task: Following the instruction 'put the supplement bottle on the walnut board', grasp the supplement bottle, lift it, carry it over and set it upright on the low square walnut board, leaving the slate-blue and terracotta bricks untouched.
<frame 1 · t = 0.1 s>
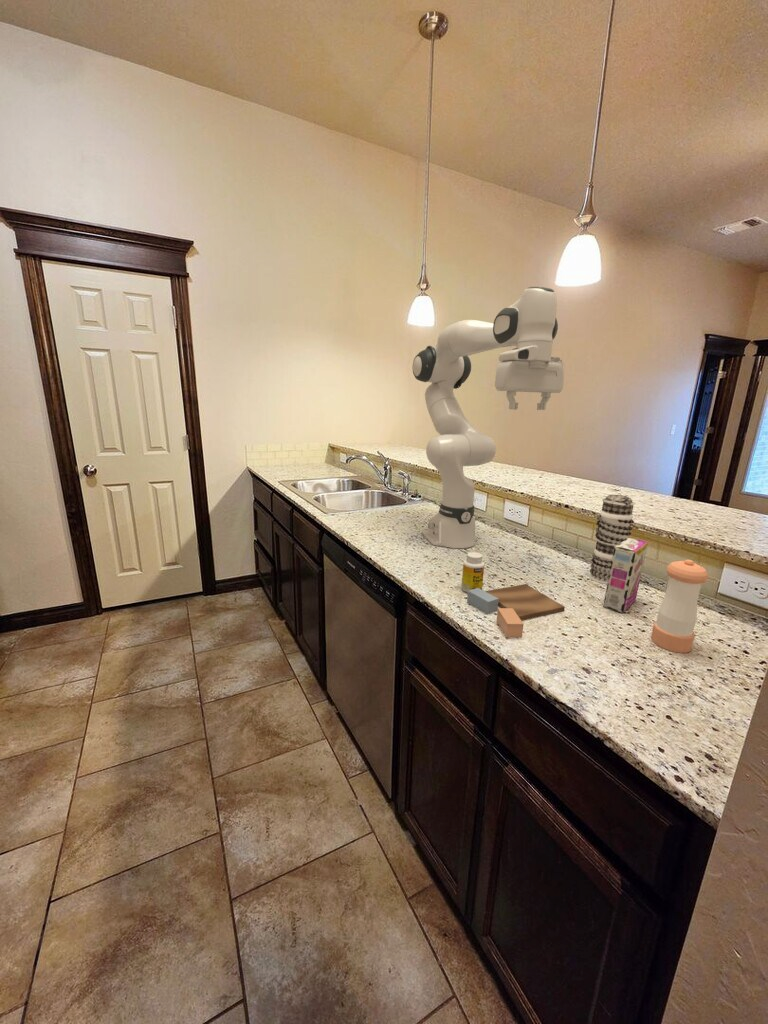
hand: (527, 409, 111), 48 cm above the counter, fingers open, 8 cm apart
brick blue: (481, 607, 103), on the counter
supplement bottle: (471, 590, 112), on the counter
candy bar box: (620, 604, 106), on the counter
pepper shaker: (670, 643, 89), on the counter
decorative candle: (605, 579, 122), on the counter
target board: (522, 603, 105), on the counter
brick terracotta: (508, 629, 93), on the counter
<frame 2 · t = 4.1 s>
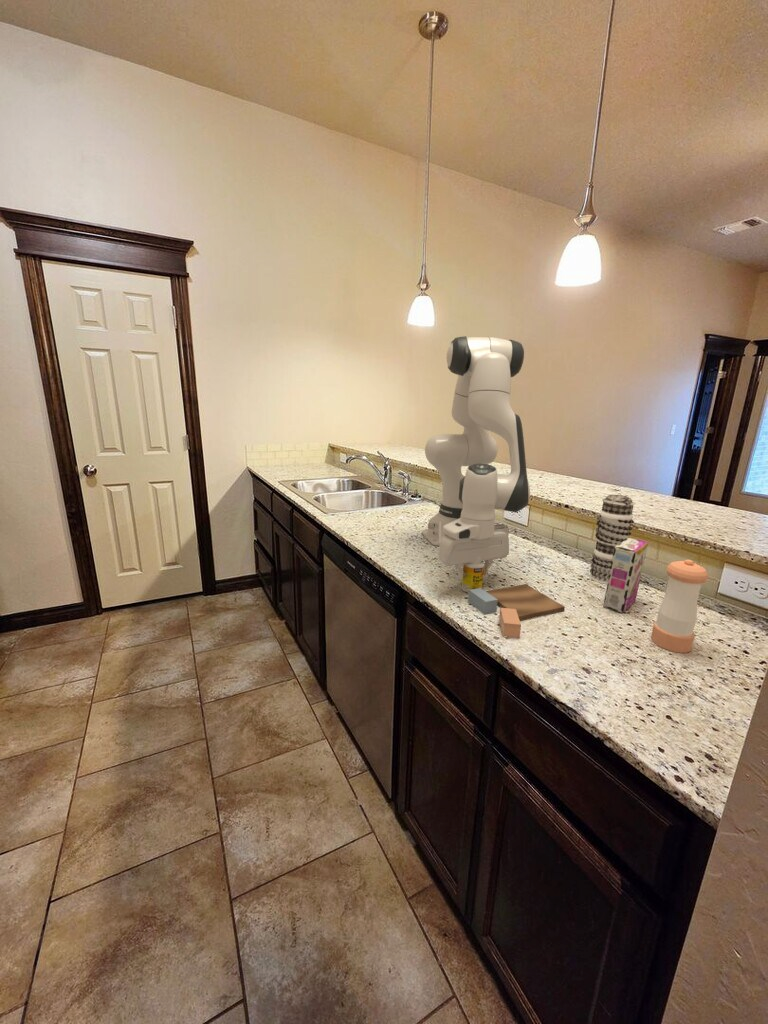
hand: (472, 575, 111), 4 cm above the counter, fingers closed on supplement bottle, 5 cm apart
supplement bottle: (471, 590, 112), on the counter, touching gripper
everything else where it was.
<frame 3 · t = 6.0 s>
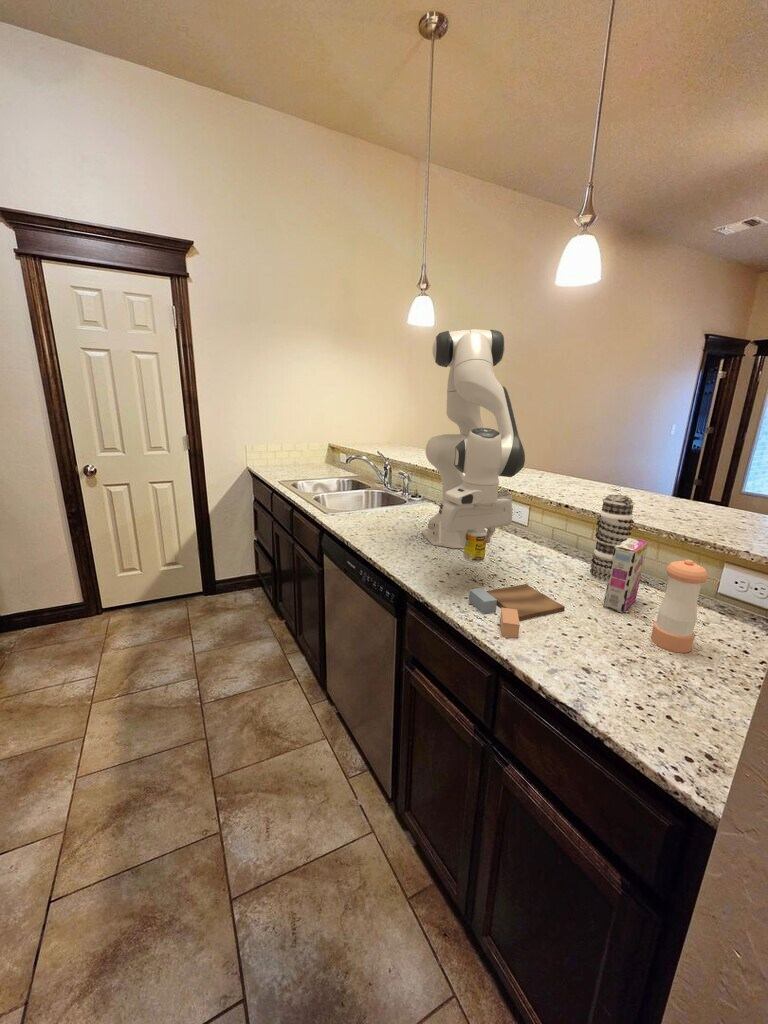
hand: (475, 543, 109), 13 cm above the counter, fingers closed on supplement bottle, 5 cm apart
supplement bottle: (473, 560, 111), point 8 cm above the counter, touching gripper
everything else where it was.
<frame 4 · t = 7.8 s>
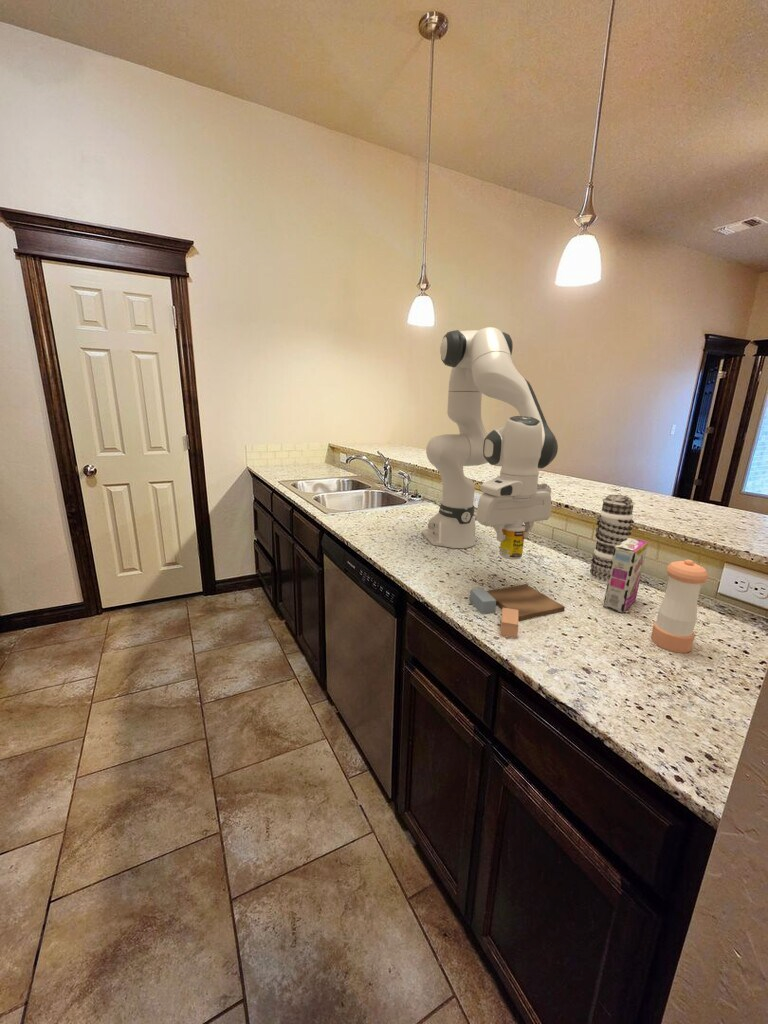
hand: (512, 539, 103), 16 cm above the counter, fingers closed on supplement bottle, 5 cm apart
supplement bottle: (510, 557, 104), point 12 cm above the counter, touching gripper
everything else where it was.
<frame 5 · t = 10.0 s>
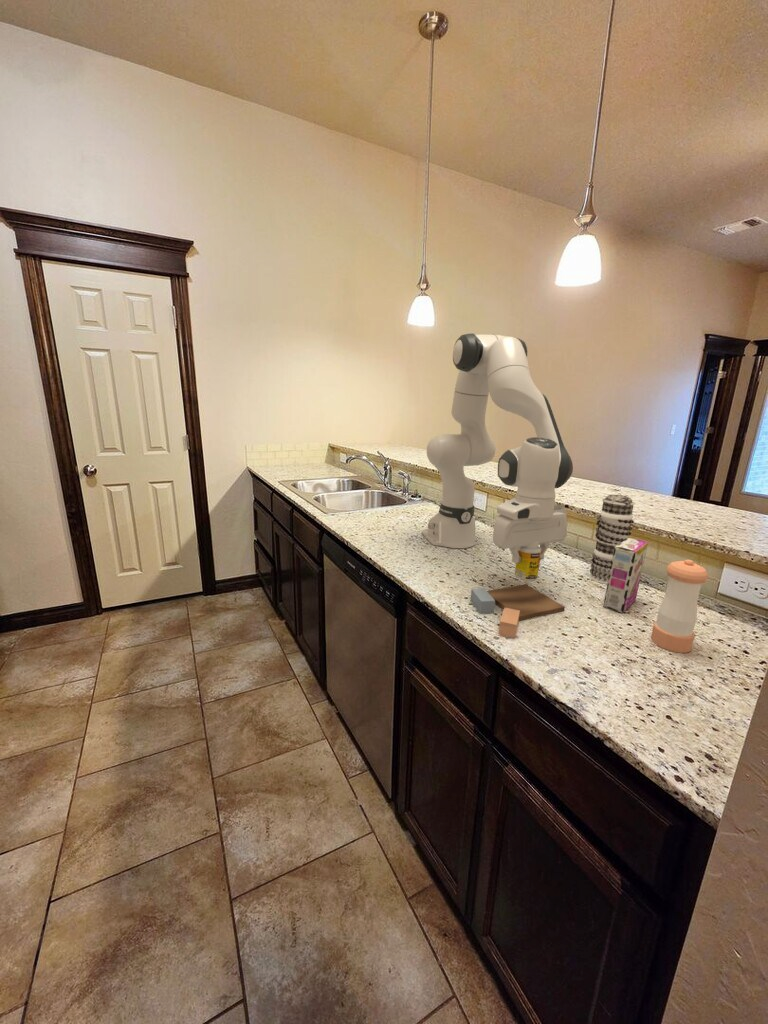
hand: (527, 560, 102), 12 cm above the counter, fingers closed on supplement bottle, 5 cm apart
supplement bottle: (525, 578, 104), point 7 cm above the counter, touching gripper
everything else where it was.
when the fingers open (6 cm above the counter, at t = 11.6 s): supplement bottle stays where it is, resting on target board.
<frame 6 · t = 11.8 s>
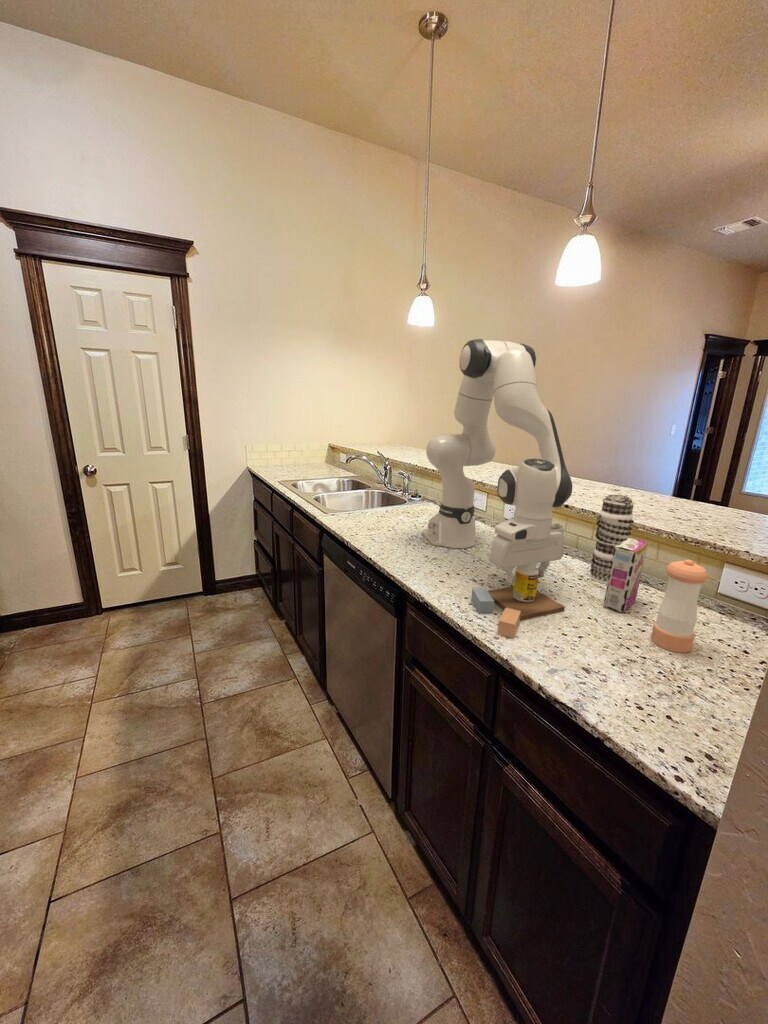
hand: (525, 579, 104), 7 cm above the counter, fingers open, 8 cm apart
supplement bottle: (523, 599, 105), point 1 cm above the counter, touching target board
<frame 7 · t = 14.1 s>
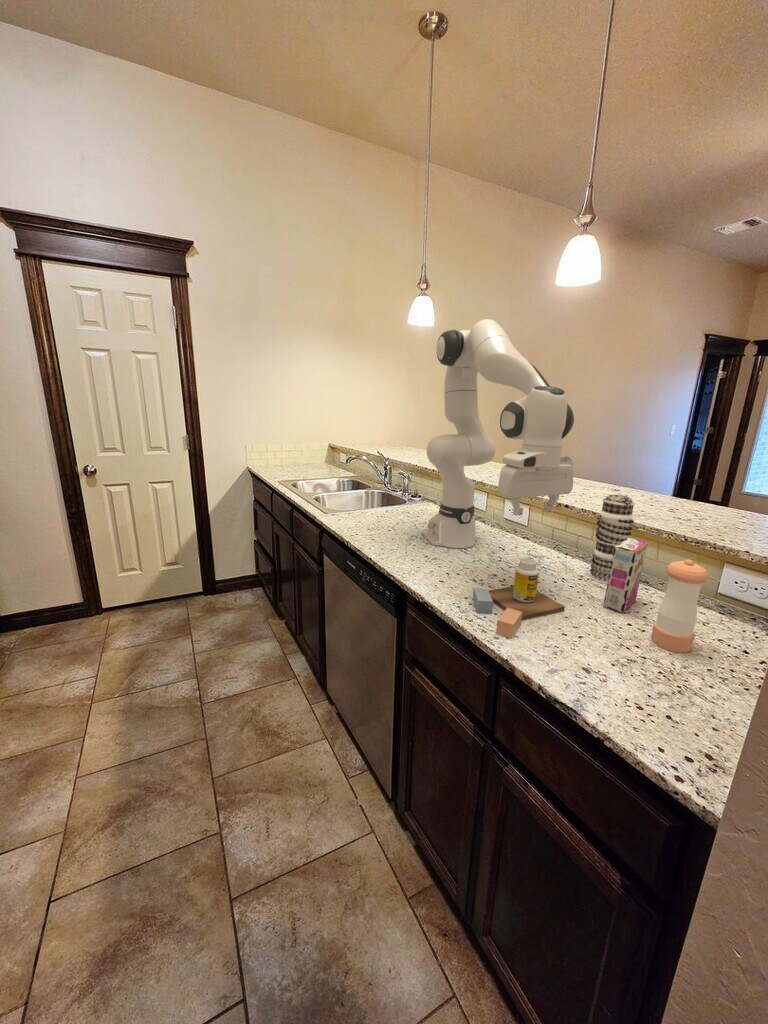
hand: (533, 513, 102), 23 cm above the counter, fingers open, 8 cm apart
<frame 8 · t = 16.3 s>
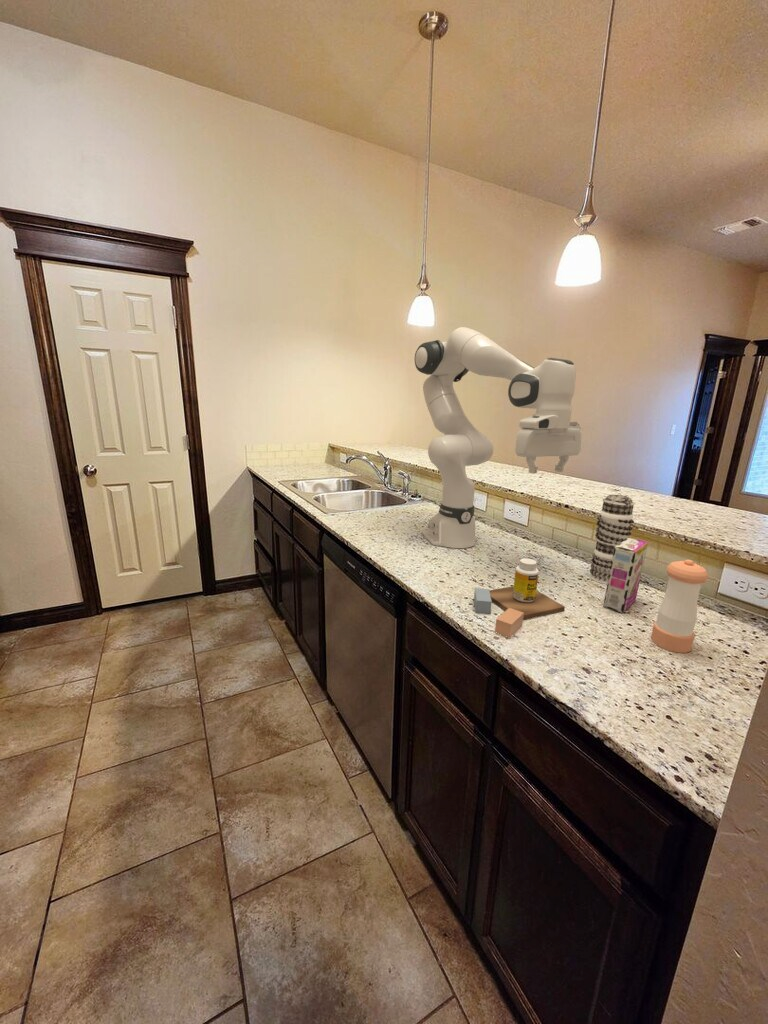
hand: (545, 472, 115), 31 cm above the counter, fingers open, 8 cm apart
at the end: supplement bottle inside the target area on the target board (0.4 cm from its centre), point 1.0 cm above the target board's base; supplement bottle tilted 0°; brick blue moved 0.2 cm from its start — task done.
